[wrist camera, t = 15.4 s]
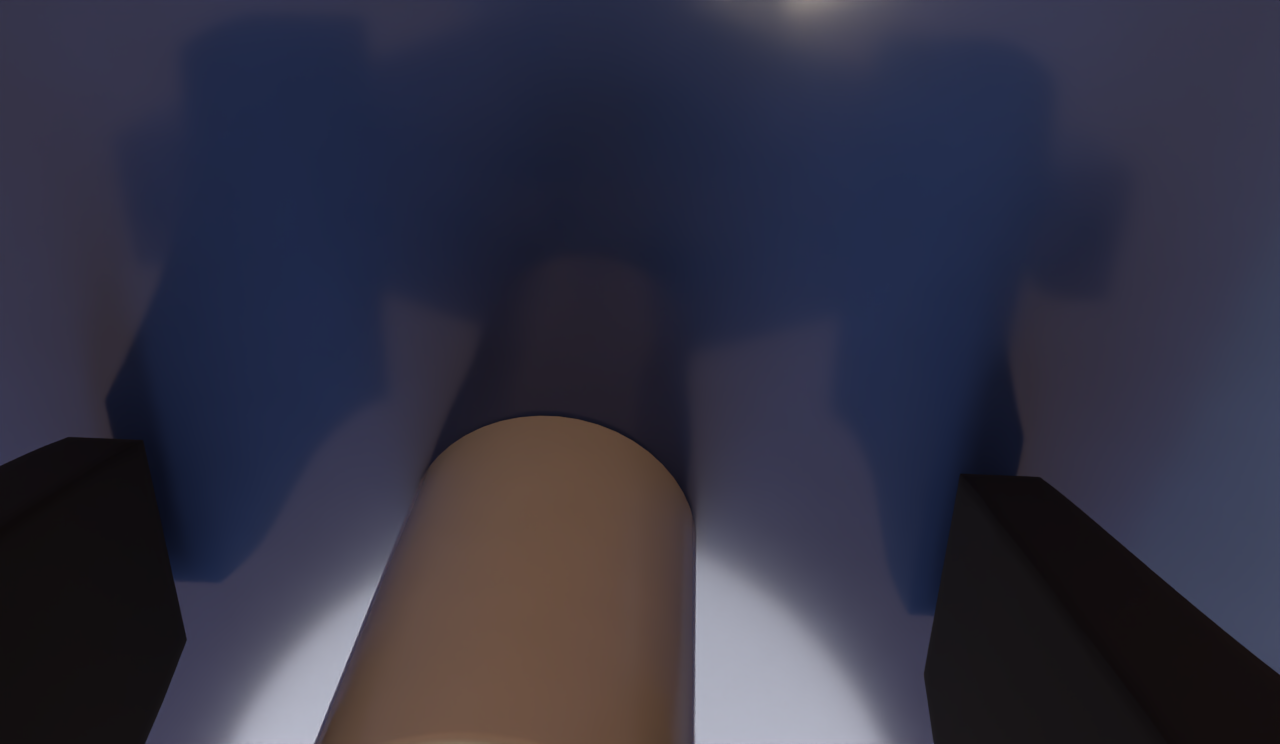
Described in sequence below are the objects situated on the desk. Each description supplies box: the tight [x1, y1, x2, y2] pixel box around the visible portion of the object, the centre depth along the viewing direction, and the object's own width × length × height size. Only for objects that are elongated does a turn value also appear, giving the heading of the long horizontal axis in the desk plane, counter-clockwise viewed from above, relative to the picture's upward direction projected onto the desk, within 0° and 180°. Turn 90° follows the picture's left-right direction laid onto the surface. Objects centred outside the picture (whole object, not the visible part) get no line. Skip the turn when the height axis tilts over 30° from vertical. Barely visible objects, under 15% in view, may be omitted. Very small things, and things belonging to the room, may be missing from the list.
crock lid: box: [0, 0, 1280, 744], centre depth 8 cm, size 13×13×4 cm
